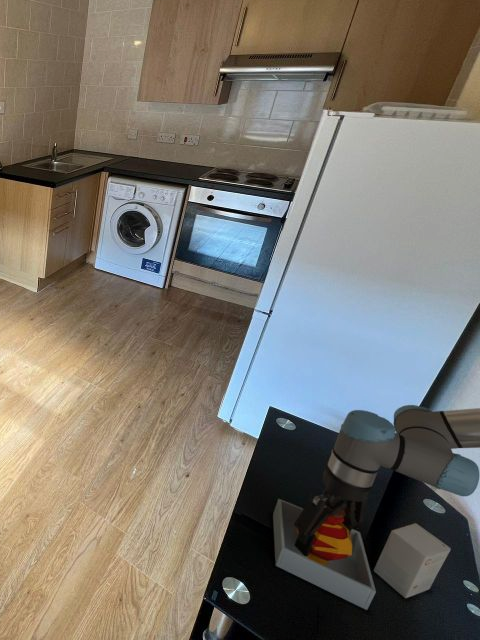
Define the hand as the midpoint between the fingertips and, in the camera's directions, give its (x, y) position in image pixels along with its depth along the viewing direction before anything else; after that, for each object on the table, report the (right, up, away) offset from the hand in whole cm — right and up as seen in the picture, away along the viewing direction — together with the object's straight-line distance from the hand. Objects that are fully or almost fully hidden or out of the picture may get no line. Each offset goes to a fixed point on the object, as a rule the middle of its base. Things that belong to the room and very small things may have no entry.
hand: (318, 546), depth 97 cm
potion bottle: (0, -3, +1) cm, 3 cm away
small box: (+16, -5, -3) cm, 17 cm away
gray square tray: (0, -3, +1) cm, 3 cm away
